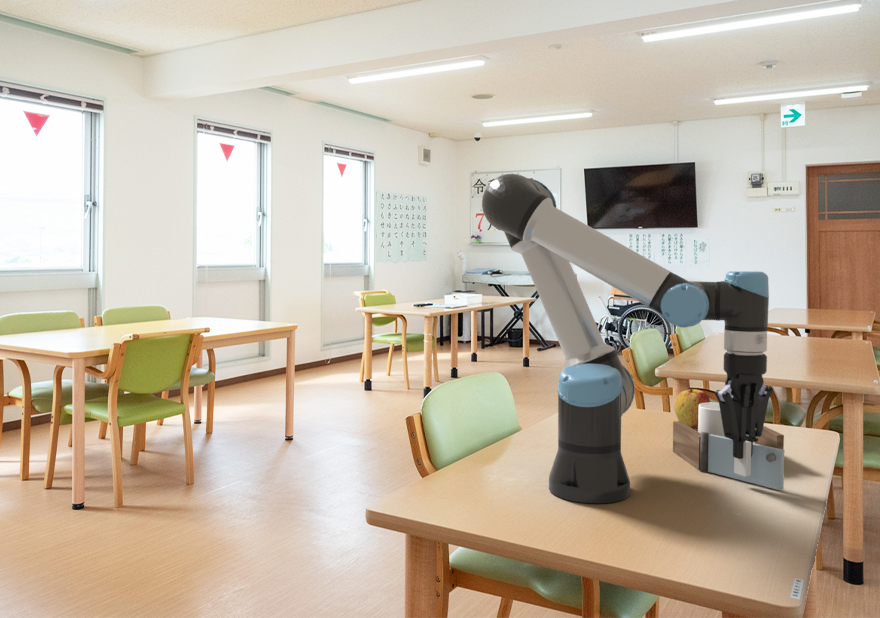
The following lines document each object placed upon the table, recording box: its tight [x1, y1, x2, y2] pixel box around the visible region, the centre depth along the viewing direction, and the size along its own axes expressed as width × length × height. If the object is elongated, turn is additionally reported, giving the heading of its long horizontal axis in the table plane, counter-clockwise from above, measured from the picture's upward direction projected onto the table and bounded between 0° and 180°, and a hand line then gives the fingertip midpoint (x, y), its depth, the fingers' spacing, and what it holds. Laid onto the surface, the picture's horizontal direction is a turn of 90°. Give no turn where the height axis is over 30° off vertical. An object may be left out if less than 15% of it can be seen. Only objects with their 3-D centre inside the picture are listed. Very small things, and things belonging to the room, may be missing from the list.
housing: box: [672, 420, 785, 473], centre depth 150 cm, size 18×16×8 cm
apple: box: [673, 388, 711, 429], centre depth 181 cm, size 9×9×10 cm
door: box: [707, 434, 785, 491], centre depth 136 cm, size 15×2×8 cm, turn 37°
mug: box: [697, 401, 757, 443], centre depth 150 cm, size 9×12×11 cm
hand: (742, 474), depth 133 cm, fingers closed
